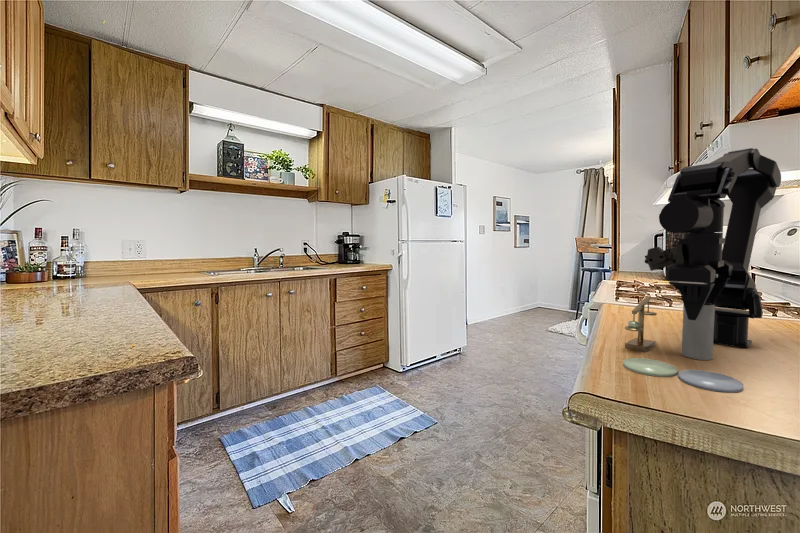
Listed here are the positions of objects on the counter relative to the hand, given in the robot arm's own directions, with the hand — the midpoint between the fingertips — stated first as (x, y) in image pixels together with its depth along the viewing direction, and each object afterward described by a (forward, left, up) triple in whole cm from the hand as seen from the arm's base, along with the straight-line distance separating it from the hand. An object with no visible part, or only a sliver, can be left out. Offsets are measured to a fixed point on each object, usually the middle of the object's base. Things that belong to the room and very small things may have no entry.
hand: (698, 316), depth 67 cm
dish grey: (+14, +4, -8) cm, 17 cm away
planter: (0, 0, -8) cm, 8 cm away
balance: (+1, -9, -8) cm, 12 cm away
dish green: (+14, -4, -8) cm, 16 cm away
